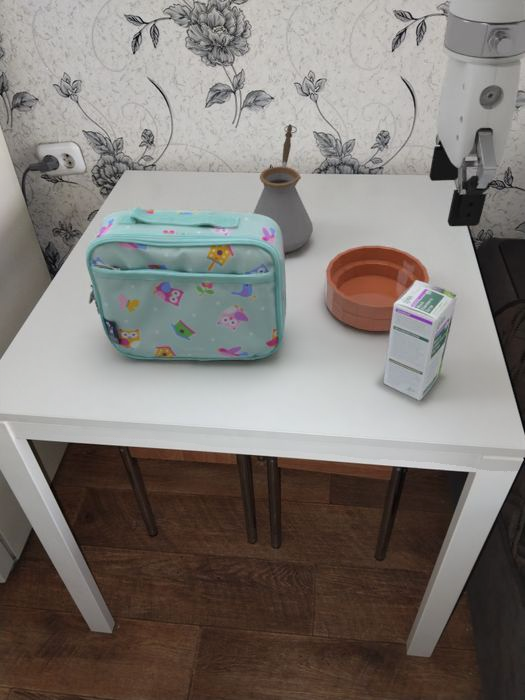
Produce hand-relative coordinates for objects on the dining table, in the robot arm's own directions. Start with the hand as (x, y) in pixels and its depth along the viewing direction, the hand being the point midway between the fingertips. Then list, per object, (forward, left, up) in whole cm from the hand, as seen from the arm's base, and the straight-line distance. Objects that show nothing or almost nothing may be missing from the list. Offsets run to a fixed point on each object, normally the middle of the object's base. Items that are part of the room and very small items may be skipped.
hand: (452, 200), depth 66 cm
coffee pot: (+29, -28, -26) cm, 47 cm away
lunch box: (+32, +6, -26) cm, 41 cm away
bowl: (+9, -11, -25) cm, 29 cm away
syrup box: (+1, +4, -26) cm, 26 cm away
